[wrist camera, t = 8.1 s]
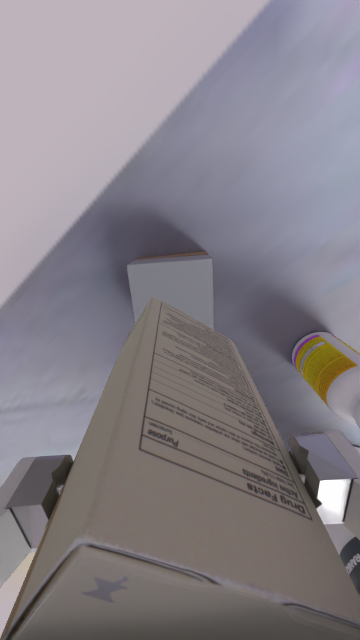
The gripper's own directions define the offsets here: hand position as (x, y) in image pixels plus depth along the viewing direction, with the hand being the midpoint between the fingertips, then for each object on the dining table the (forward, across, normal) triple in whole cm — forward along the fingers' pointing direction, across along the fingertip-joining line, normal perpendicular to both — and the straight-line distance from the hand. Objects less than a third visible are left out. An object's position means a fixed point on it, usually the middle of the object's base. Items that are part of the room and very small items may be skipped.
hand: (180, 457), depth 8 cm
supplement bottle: (+24, -18, +11) cm, 32 cm away
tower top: (+21, 0, 0) cm, 21 cm away
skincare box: (+8, 0, 0) cm, 8 cm away
